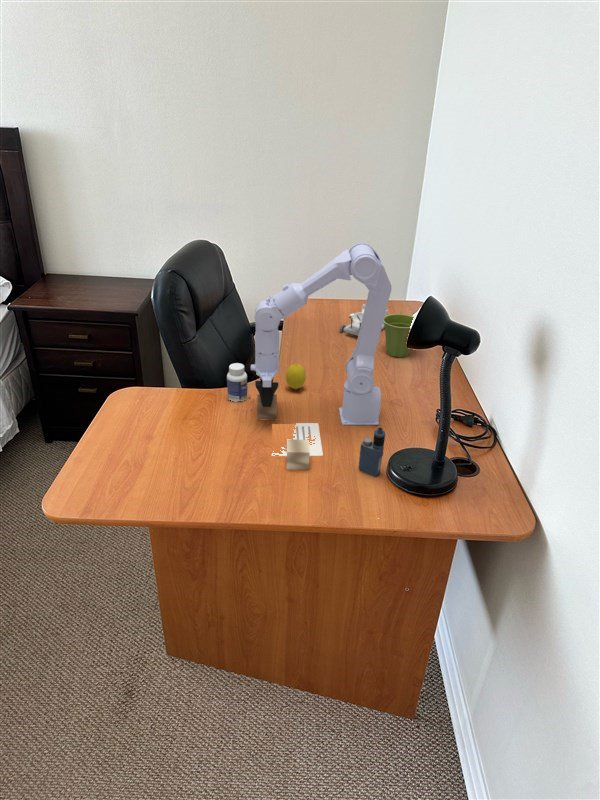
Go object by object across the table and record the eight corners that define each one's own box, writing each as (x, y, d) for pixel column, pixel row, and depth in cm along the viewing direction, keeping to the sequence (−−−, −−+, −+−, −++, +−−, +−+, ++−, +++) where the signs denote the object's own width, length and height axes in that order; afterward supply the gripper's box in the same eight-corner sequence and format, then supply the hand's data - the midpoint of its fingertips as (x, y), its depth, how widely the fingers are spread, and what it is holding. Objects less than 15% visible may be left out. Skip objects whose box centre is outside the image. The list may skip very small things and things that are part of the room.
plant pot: (421, 351, 182) (426, 318, 177) (407, 364, 174) (411, 330, 168) (388, 342, 188) (392, 310, 182) (372, 354, 179) (376, 321, 173)
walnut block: (276, 410, 148) (276, 394, 145) (276, 421, 144) (277, 404, 141) (257, 410, 148) (257, 394, 145) (257, 421, 143) (257, 404, 141)
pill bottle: (244, 404, 150) (243, 372, 145) (225, 401, 151) (223, 369, 146) (249, 394, 155) (249, 363, 150) (231, 392, 156) (230, 360, 151)
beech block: (308, 457, 130) (309, 439, 128) (308, 470, 126) (309, 452, 124) (286, 457, 130) (287, 439, 128) (286, 470, 126) (286, 452, 123)
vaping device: (377, 478, 124) (383, 433, 118) (356, 470, 126) (360, 425, 120) (382, 472, 126) (388, 428, 120) (361, 464, 128) (366, 420, 122)
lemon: (282, 391, 157) (283, 366, 153) (290, 382, 161) (290, 357, 157) (300, 395, 155) (301, 370, 151) (308, 386, 159) (309, 361, 155)
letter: (318, 423, 143) (318, 423, 143) (322, 456, 131) (322, 455, 131) (271, 423, 142) (271, 423, 142) (271, 456, 130) (271, 455, 130)
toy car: (367, 317, 181) (336, 309, 187) (364, 345, 186) (335, 336, 192) (392, 302, 194) (363, 295, 200) (389, 328, 199) (361, 320, 205)
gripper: (251, 337, 142) (251, 384, 149) (249, 363, 130) (250, 413, 136) (279, 338, 143) (278, 384, 149) (280, 363, 130) (279, 413, 137)
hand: (266, 398), depth 143 cm, fingers open, 7 cm apart
